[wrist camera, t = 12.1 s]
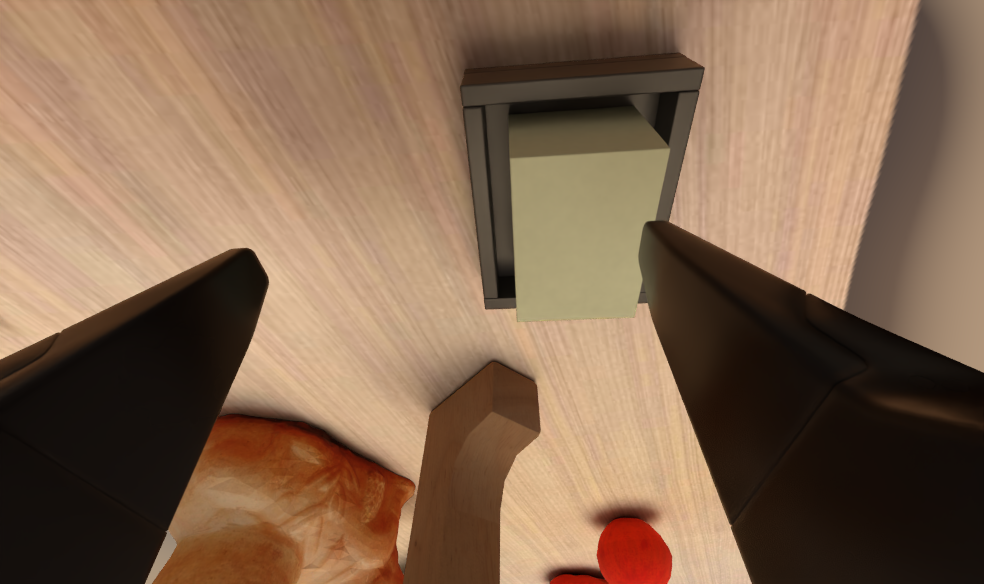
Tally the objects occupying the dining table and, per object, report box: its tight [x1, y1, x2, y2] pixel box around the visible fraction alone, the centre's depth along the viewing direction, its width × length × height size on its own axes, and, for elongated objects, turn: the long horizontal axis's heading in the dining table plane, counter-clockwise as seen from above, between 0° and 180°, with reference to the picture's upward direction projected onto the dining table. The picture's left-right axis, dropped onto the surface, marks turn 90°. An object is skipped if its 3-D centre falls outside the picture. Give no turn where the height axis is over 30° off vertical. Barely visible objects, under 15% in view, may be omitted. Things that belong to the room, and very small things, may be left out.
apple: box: [597, 518, 672, 584], centre depth 45 cm, size 8×8×7 cm
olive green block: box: [508, 106, 670, 322], centre depth 18 cm, size 8×6×5 cm
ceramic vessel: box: [152, 414, 415, 584], centre depth 36 cm, size 14×26×15 cm, turn 37°
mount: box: [460, 53, 705, 309], centre depth 20 cm, size 12×9×3 cm
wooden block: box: [403, 362, 540, 584], centre depth 26 cm, size 9×4×18 cm, turn 142°
